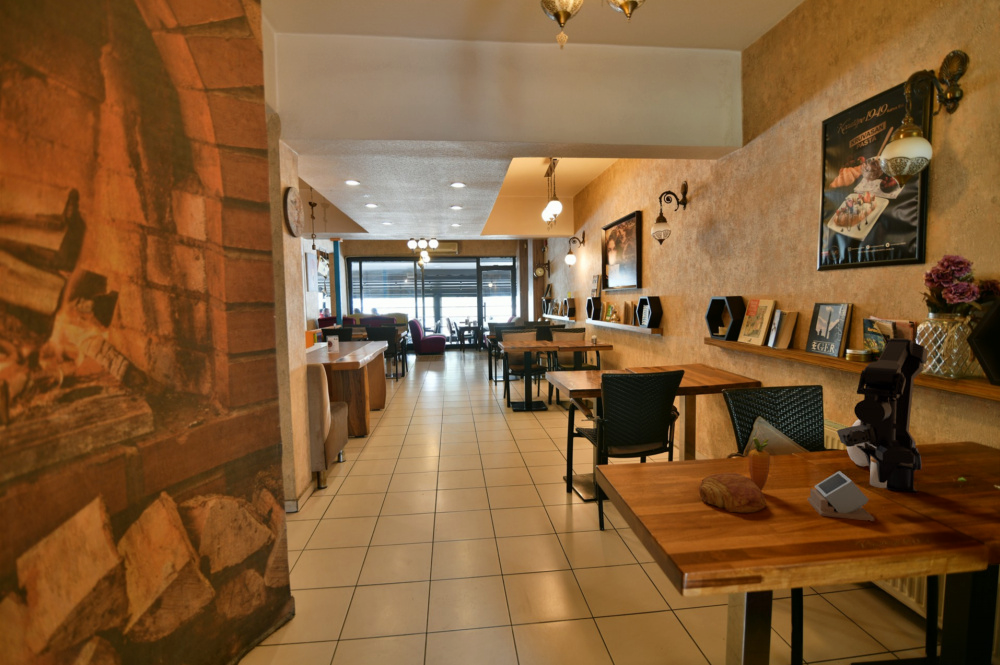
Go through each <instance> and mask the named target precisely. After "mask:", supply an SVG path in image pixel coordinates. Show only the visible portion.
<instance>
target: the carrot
mask: <svg viewBox="0 0 1000 665" xmlns="http://www.w3.org/2000/svg"><path fill="white" fill-rule="evenodd" d="M752 440H753V442H754V445H753V447H754V448H755V449H752V450H750V451H749V453H748V471H749V475H750V476H749V477H750V479H751V480H752V481H753V483H755V484H756V485H757V487H758V488H759V489H760V490H761V491H762V490H763V489H764V487H765V485H766V483H767V481H768V477H769V472H770V465H771V462H770V460H771V457H770V456H771V455H770V454H769V452H767V451H765V450H764V448H765V447H767V446H768V442H769V439H768V438H765V439H764V441H763V443H762V444H761V442H760V440H759V438H757V437H756V436H755V437H753V438H752Z"/></svg>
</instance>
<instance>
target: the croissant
mask: <svg viewBox="0 0 1000 665" xmlns="http://www.w3.org/2000/svg"><path fill="white" fill-rule="evenodd" d="M698 491H699V492H698V493H699V495H700V498H701V500H702V501H703V502H704V503H706V504H709V505H712V506H713V507H717V508H719V509H724V511H727V512H730V513H741V514H742V513H743V514H745V513H756V512H758V511H761V510H762V509H764V508H766V506H767V500H766V498H765V495H764V493H763V491H762V490H760V489H759V488H758V487H757V485H756V484H755V483H753V481H752V480H751V477H750V478H749V477H747V476H745V475H743V474H741V473H736V472H722V473H715V474H711V475H708V476H705V478H703V479H702V480H701V482H700V484H699V488H698Z"/></svg>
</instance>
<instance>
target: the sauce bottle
mask: <svg viewBox="0 0 1000 665" xmlns="http://www.w3.org/2000/svg"><path fill="white" fill-rule="evenodd" d="M860 424H861V421H860V420H859V419H858V418H857V420H855V422H854V423H853V424H852V425H851V427H852V426H858V425H860ZM857 446H860V444H856V445H855V446H851V447H848V446H846V449H847V450H846V451H847V453H848V454H847V455H848V457H849V458H850V460H851V461H852V462H854V463H855V465H857V466H859V467H863V468H865V467H869V465H868V462H867V459H866V456H865V454H864V453H863V452H862V451H861V450H860V449H859V448H857Z"/></svg>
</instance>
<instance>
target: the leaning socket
mask: <svg viewBox="0 0 1000 665" xmlns="http://www.w3.org/2000/svg"><path fill="white" fill-rule="evenodd" d="M807 501H809V502H808V503H809V504H810V505H811V506H812V508H814V510H815V511H816V512H817V513H818V515H820V516H822V517H829V518H830V517H832V518H839V519H840V518H841V519H848V520H849V519H850V520H857V521H858V520H860V521H868V520H870V522H874V521H875V518H874V516H873V515H871V514H870V513H869V512H868V511H867V510H866V509H865V508H864V507H863V506H864V505H866V504H868V502H869V501H870V499H869V498H868V497H867V496H866V495H865V493H863V491H862V490H861V489H860V488H859V487H858V486H857V485H856V484H855V483H854V481H853V480H851V479H850V478H849V477H848V476H847V475H845V474H844V473H842V471H840V470H839V471H837V472H835V473H833V474H831V475H830V476H828V477H827V478H825V479H824V480H822V481H820V482H819V483H818V484H815V485H814V488H810V494H809V497H807Z"/></svg>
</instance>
